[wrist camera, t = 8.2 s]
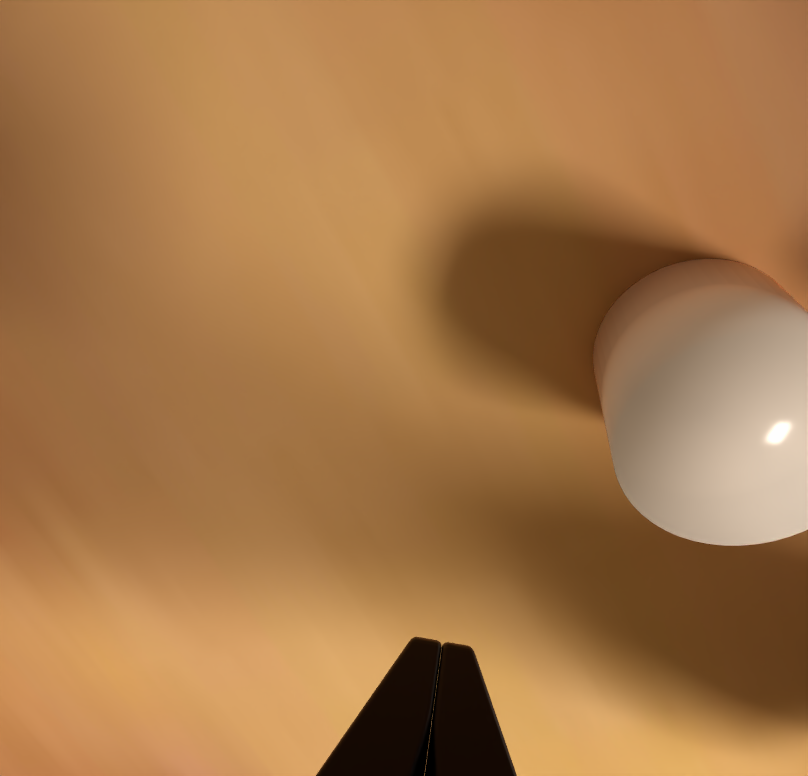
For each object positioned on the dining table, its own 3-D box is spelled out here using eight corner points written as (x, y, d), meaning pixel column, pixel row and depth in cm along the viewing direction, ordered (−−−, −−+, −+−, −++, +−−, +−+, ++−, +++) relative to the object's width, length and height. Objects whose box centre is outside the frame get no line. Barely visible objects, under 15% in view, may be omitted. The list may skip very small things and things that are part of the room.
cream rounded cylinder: (763, 448, 20) (830, 562, 16) (576, 422, 21) (590, 526, 16) (832, 270, 17) (935, 348, 13) (615, 247, 18) (644, 314, 14)
